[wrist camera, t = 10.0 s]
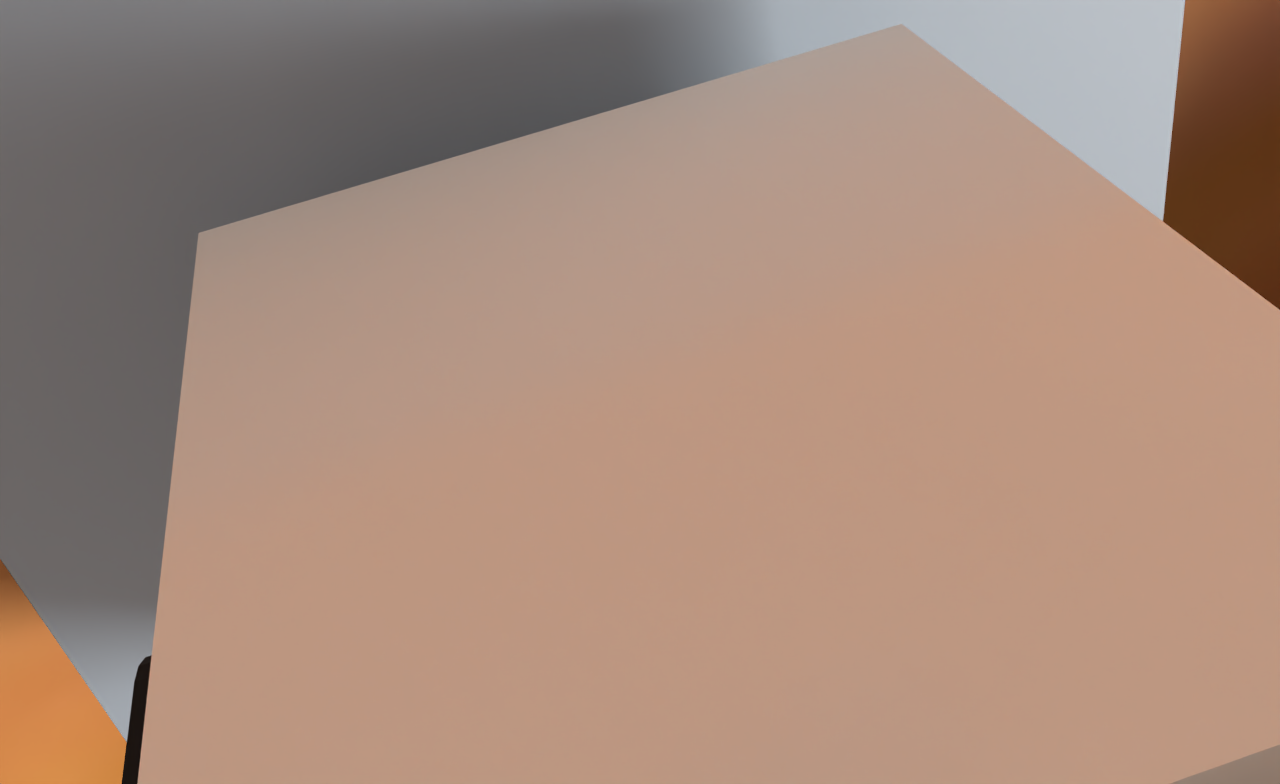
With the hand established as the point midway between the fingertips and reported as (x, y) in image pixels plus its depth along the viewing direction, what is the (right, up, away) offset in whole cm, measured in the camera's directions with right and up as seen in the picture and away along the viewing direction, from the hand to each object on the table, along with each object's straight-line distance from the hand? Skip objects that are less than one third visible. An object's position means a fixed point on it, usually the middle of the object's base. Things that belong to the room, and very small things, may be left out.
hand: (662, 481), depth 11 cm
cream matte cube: (0, +1, +1) cm, 1 cm away
